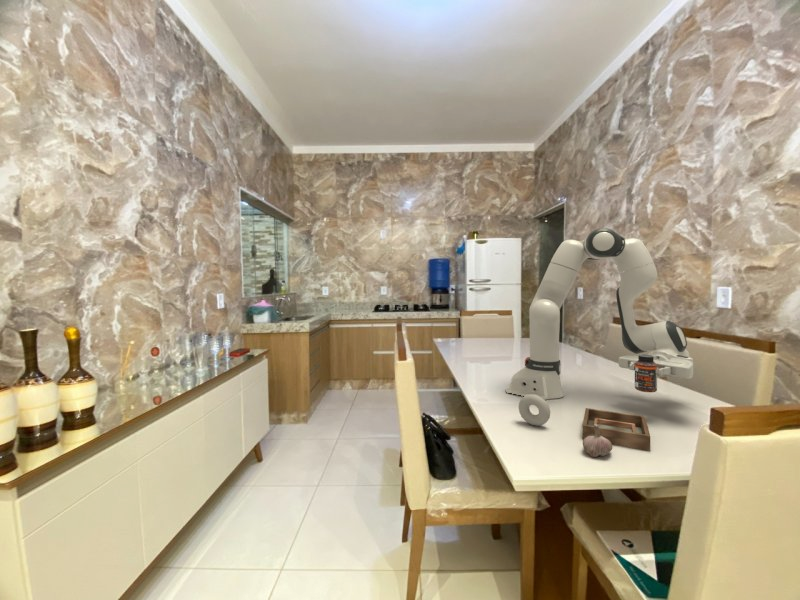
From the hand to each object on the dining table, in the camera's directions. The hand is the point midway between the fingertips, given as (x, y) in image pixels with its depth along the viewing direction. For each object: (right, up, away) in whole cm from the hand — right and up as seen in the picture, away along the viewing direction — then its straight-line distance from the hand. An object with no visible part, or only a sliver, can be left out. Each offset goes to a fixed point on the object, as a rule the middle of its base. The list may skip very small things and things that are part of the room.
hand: (644, 369), depth 111 cm
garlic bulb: (-26, -19, -19) cm, 37 cm away
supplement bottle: (+1, -7, +1) cm, 7 cm away
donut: (-35, -18, 0) cm, 40 cm away
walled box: (-14, -18, -8) cm, 24 cm away
